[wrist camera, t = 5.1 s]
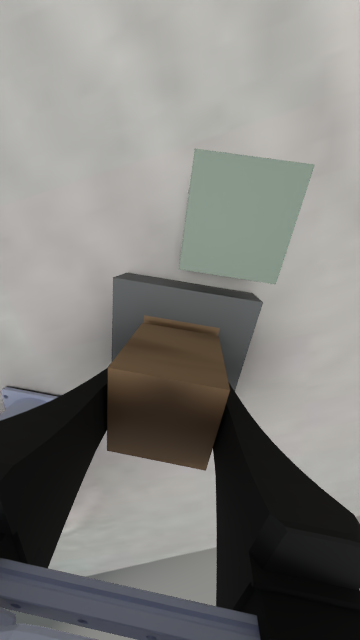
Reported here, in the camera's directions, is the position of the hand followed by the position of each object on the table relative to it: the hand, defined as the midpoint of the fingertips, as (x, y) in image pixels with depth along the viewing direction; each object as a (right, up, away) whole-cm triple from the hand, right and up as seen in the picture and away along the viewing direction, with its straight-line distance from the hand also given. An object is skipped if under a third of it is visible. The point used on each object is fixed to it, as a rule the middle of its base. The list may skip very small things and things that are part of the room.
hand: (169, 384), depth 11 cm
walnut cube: (0, +1, +2) cm, 2 cm away
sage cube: (+4, +10, +2) cm, 11 cm away
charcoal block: (+1, +2, +6) cm, 6 cm away
